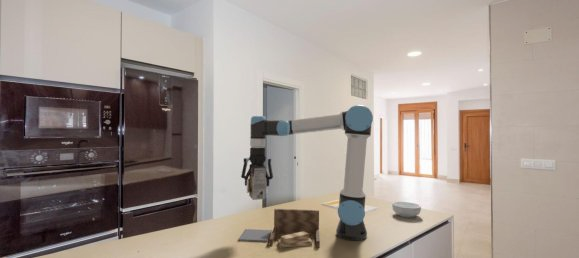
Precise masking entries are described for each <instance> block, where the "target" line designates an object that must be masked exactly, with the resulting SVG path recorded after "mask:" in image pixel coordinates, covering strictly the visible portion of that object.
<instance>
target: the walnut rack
mask: <svg viewBox="0 0 579 258" xmlns="http://www.w3.org/2000/svg"><path fill="white" fill-rule="evenodd" d="M273 209H274V210H273V211H274V213H273V229H272V232H271V234H270V237H269V239H268V246H270V247H271V246H272V247H273V245H274V243H275V240H276V236H277V234H293V233H298V232H303V231H304V232H306V233H308V234H309V235H315V247H316V249H317V248H318V249H319V248H321V247H320V246H321V245H320V244H321V243H320V242H321V240H320V238H321V237H320V210H318V209H297V208H296V209H294V208H293V209H292V208H288V209H287V208H273Z"/></svg>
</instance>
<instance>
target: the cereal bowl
mask: <svg viewBox="0 0 579 258" xmlns="http://www.w3.org/2000/svg"><path fill="white" fill-rule="evenodd" d="M391 207H392V211H394V212H395V214H397V215H399V216H400V217H402V218H410V219H411V218H413V217H416V216H419V214H420V213H421V211H422V206H421V205H420V204H417V203H415V202H409V201H394V202H392V206H391Z"/></svg>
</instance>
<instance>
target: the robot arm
mask: <svg viewBox="0 0 579 258" xmlns="http://www.w3.org/2000/svg"><path fill="white" fill-rule="evenodd" d="M373 121H374V117H373V113H372V111H371V110H370V108H369V107H367V106H365V105H362V104H356V105H352V106H350V108H349V109H347V110H345V111H341V112H340V113H338V114H331V115H323V116H315V117H307V118H299V119H291V120H283V119H281V120H280V119H279V120H277V119H276V120H267V118H266V116H262V115H261V116H259V115H254V116H251V118H250V137H249V138H250V140H249V141H250V142H249V146H250V148H249V157H245V158H243V166H242V170H241V174H240V175H241V176H240V177H241V178H242V179H244V186H245V187H246V193H247V194H249V184H250V179H249V175H250V172H251V166H253V165H256V166H265V164H264V163H265V162H266V163H267V168H268V171H267V170H266V178H265V194H267V193H268V187H270V180H272V179H273V178H274V174H273V169H272V158H268V157H266V148H265V147H266V136H273V137H274V136H277V137H279V136H280V137H284V136H285V137H286V136H287V137H288V136H291V135H298V134H306V133H307V134H308V133H315V132H323V131H326V132H327V131H333V130H343V131H344V135H345V136H346V137H347V140H346V141H347V142H346V153H345V154H346V155H345V168H344V179H343V189H341V190H340V191H339V200H338V207H337V215H338V218H339V221H338V224H337V227H336V233H335V234H336V236H337V237H339V238H341V239H343V240H346V241H362V240H365V239H367V237H368V231H367V228H366V225H365V221H364V219H365V215H366V210H365V208H366V198H367V196H366V194H365V192H364V190H363V189H364V177H365V164H366V152H367V142H368V139H369V138H370V137H371V135H372V134H371V133H372V124H373ZM249 162H250V163H251V166H250V165H249V167H250V168H248V167H247V166H248V163H249ZM247 168H248V170H247ZM246 171H247V172H246Z"/></svg>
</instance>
